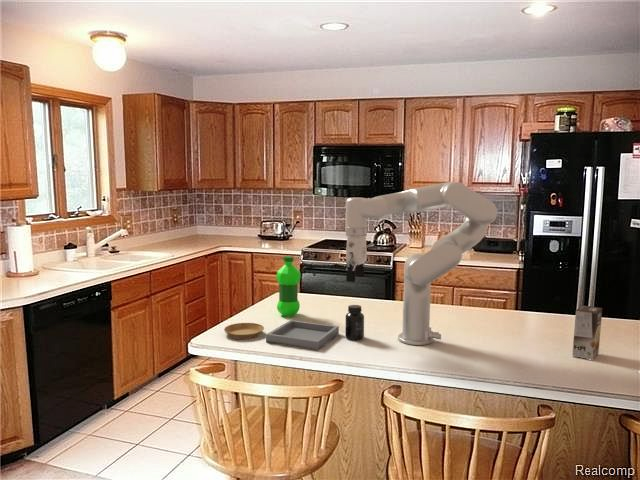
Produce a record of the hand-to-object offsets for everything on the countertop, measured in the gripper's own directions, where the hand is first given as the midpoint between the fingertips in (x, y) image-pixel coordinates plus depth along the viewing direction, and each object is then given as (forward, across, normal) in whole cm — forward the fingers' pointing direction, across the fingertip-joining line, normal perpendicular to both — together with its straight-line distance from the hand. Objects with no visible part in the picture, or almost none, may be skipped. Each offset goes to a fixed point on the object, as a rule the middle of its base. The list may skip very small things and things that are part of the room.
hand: (355, 279), depth 190 cm
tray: (+22, -8, +17) cm, 29 cm away
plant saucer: (+22, -13, +39) cm, 47 cm away
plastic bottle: (+22, +18, +36) cm, 46 cm away
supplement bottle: (+22, 0, 0) cm, 22 cm away
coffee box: (+22, +15, -77) cm, 82 cm away
